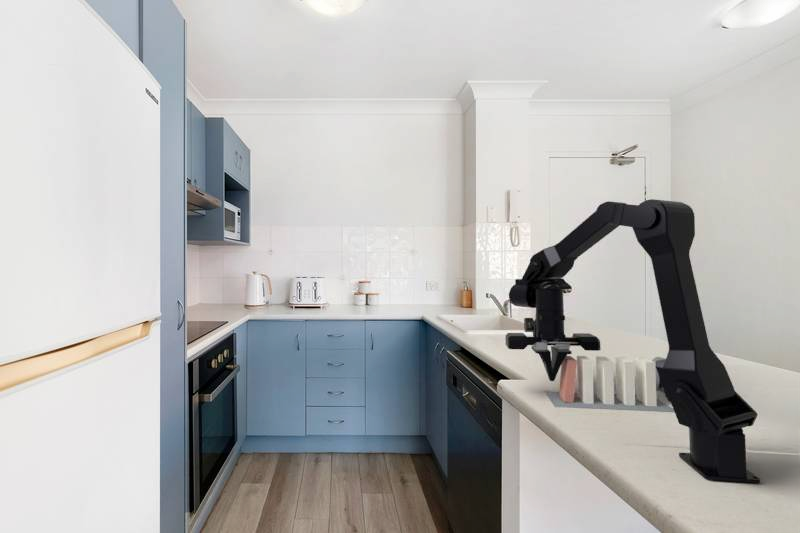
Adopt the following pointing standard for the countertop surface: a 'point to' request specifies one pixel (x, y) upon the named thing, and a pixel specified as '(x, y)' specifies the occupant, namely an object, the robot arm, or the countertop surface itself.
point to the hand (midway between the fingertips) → (551, 380)
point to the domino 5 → (646, 381)
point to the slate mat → (599, 404)
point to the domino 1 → (568, 379)
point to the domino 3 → (605, 380)
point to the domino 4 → (625, 380)
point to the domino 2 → (585, 379)
